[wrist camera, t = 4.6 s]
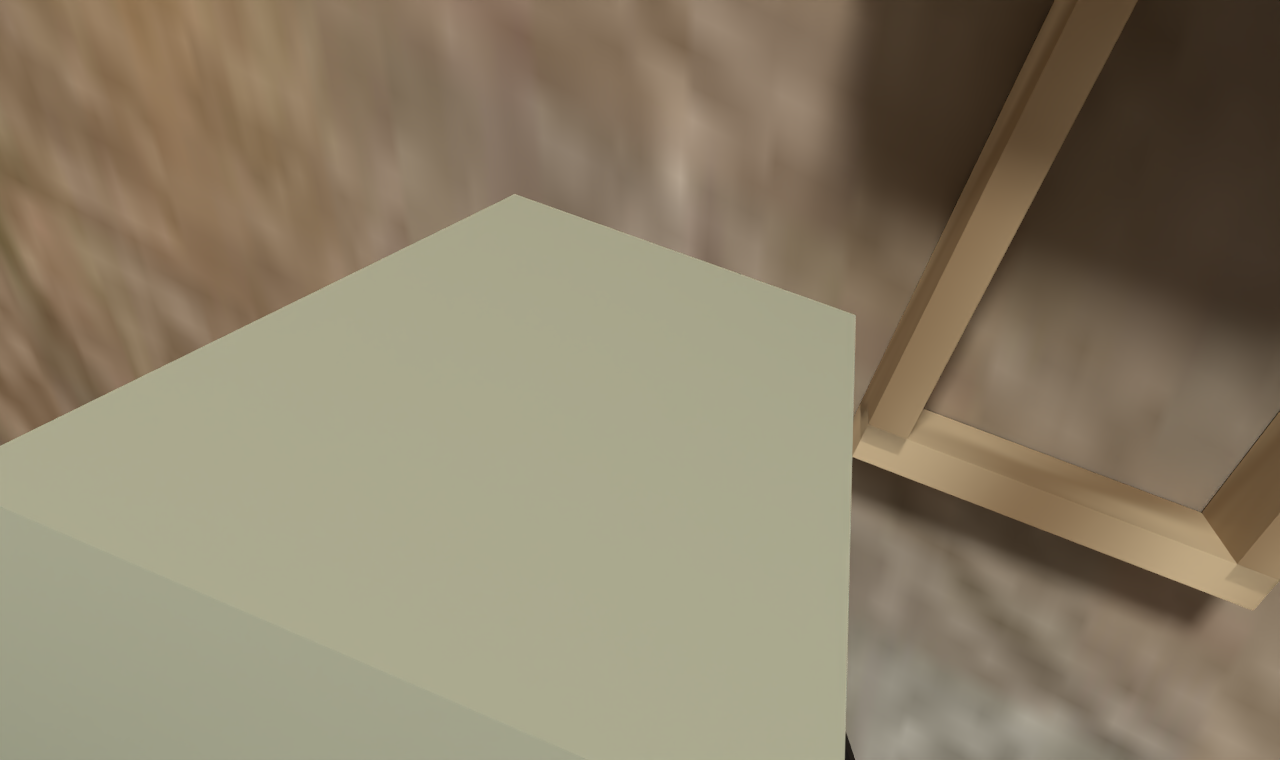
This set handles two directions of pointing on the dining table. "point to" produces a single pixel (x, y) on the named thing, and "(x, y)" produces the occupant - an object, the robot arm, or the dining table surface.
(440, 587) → the cabinet block
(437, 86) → the dining table surface
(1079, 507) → the wall board
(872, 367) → the dining table surface
